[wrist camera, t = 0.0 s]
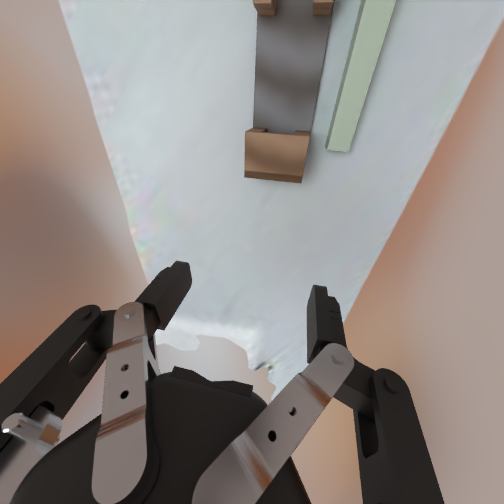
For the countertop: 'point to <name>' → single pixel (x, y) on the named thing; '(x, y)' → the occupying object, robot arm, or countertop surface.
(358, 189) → the countertop surface
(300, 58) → the holder
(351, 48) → the slat
